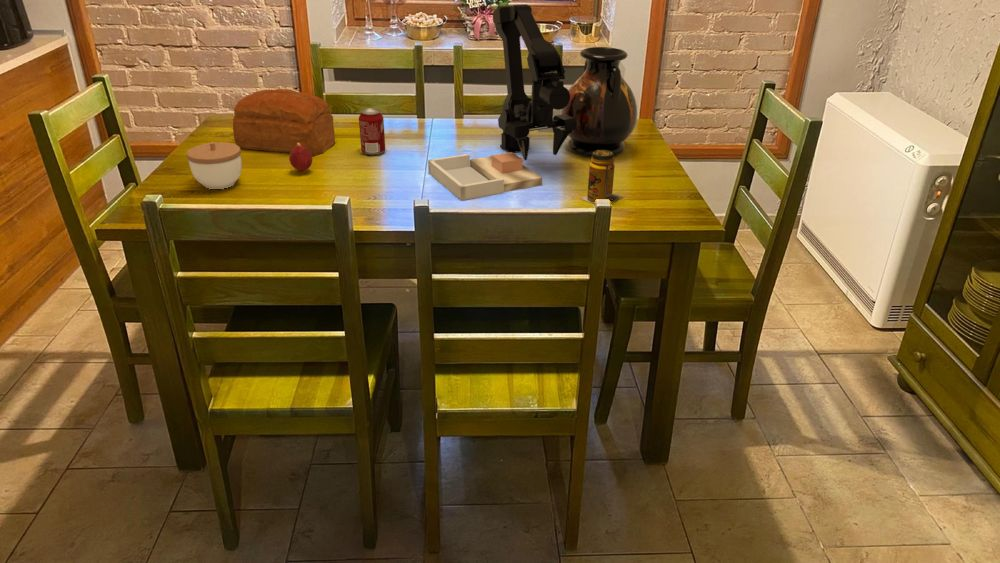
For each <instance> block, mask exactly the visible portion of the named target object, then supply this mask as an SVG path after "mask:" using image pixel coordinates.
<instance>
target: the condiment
mask: <svg viewBox="0 0 1000 563" xmlns="http://www.w3.org/2000/svg"><path fill="white" fill-rule="evenodd" d="M614 157H615V156H614V154H613V153H612V152H611V151H608V150H596V151H594V152H593V153H592V157H590V158H591V159H590V163H589V169H588V180H587V195H586V196H583V197H581V198H580V200H581V201H585V202H587V203H588V202H589V203H591V204H594V202H595V200H596V199H609V200H610V201H611V202H612V203H614V202H616V201H617V200H620V199H621V198H623V197H624V195H619V194H617V193H616V194H615V193H613V188H614V179H615V177H614V176H615V163H614V162H615V158H614Z"/></svg>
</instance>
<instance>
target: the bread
mask: <svg viewBox="0 0 1000 563" xmlns="http://www.w3.org/2000/svg"><path fill="white" fill-rule="evenodd" d="M233 110H234V111H233V113H234V115H233V119H232V131H233V139H234V142H235V143H234V144H236V145H238V146H239V147H240V149H247V150H256V151H268V152H279V153H285V154H287V153H288V154H291V152H292V150H293V149H294V148H295V147H297V143H300V145H302V146H303V147H305V148H306V149H307V150H308V151H309V152H310V153H311V155H312V156H313V155H314V156H317V155H321V154H323V153H325V152H326V151H327V150H329V149H330V148H332V147H333V146H334V145H335V144H336V139H335V138H336V137H335V136H336V135H335V127H334V117H333V115H332V112H331V110H330V107H329V104H328V103H327V102H326V101H325V100H324V99H322V98H320V97H319V96H316V95H311V94H309V93H307V92H299V91H296V90H292V89H288V88H286V89H285V88H276V89H263V90H262V89H261V90H257V91H255V92H253V93H251V94H247V95H246V96H244V97H243V98H241V99H240V100H239V101H237V103H236V105H235V106H234V109H233Z"/></svg>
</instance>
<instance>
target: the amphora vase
mask: <svg viewBox="0 0 1000 563" xmlns="http://www.w3.org/2000/svg"><path fill="white" fill-rule="evenodd" d="M579 54H580V56H581V58H583V59H585V61H584V68H583V74H582V75H581V76H580V77H579V78H577V80H576V81H575V82H574V83H572V85H571V86H570V87H569V89H568V91H569V93H570V101H569V103H568V105H567V106H566V107H565V108H563V109H561V115H563V114H567V115H569V116H571V117H573V118H575V120H576V122H577V125H576V129H575V130H572V133H569V135H568V136H567V137H569V138H570V139H569V141H568V143H567V148H568V149H569V150H570V151H571V152H573V153H574V154H575V155H578V156H582V157H585V158H592V153H593V152H594V151H596V150H608V151H611V152H612V153H613V154H614V157H617V156H619V155H620V154H622V153H623V152H624V151H625V149H626V146H625V142H624V141H626V139H628V138H629V137H630V136H631V134H632V133H633V131H634V129H635V128H636V125H637V121H638V105H637V101H636V97H635V94H634V93H633V90H632V87H630V85H629V84H628V83H627V82H626V80H625V79H624V77H623V76H622V74H621V72H622V71H621V69H620V68H619V67H620V63H621V61H623V60H626V59H627V58H628V56H629V54H628V53H627V51H625V50H623V49H620V48H616V47H609V46H608V47H605V46H593V47H587V48H584V49H582V50H581V51H580V52H579Z"/></svg>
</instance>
